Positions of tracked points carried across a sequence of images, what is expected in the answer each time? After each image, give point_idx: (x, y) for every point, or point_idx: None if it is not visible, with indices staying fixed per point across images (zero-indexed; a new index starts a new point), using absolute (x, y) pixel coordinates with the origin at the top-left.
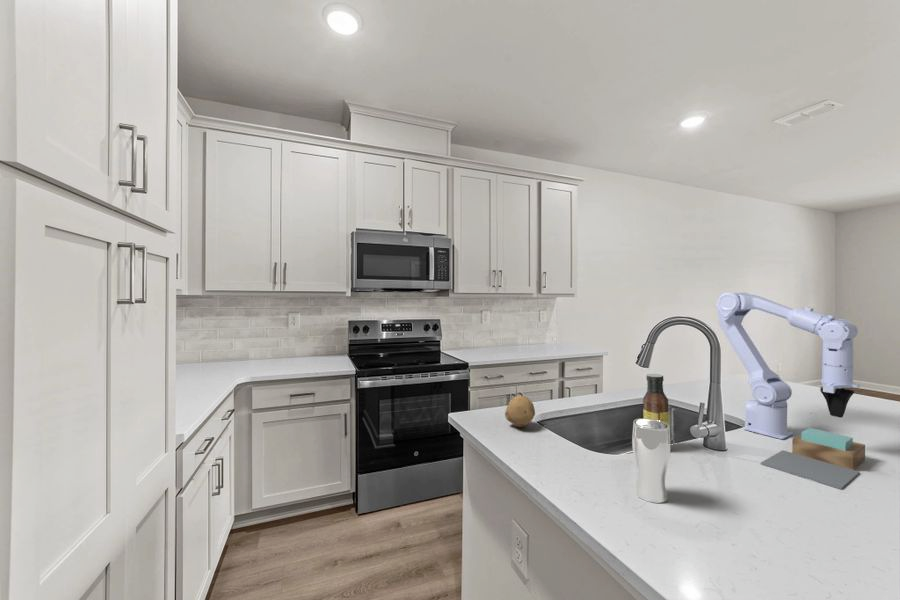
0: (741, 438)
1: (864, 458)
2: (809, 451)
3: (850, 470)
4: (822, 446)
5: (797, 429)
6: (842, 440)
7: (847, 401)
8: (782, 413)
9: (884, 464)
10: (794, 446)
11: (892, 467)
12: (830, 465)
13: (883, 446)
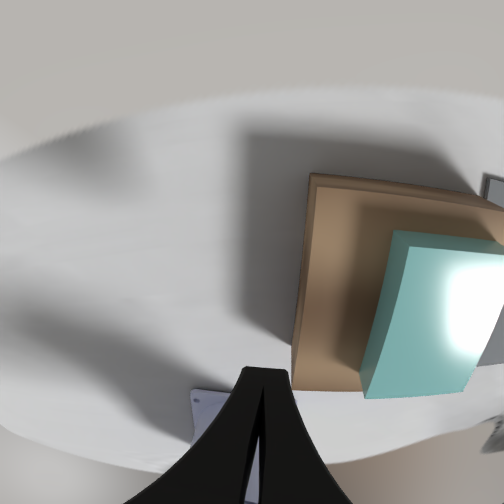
0: (377, 443)
1: (320, 175)
2: None
3: (498, 202)
4: None
5: (112, 378)
6: (496, 271)
7: (215, 471)
8: (257, 480)
9: (293, 112)
10: None
11: (310, 88)
12: None
13: (38, 168)
